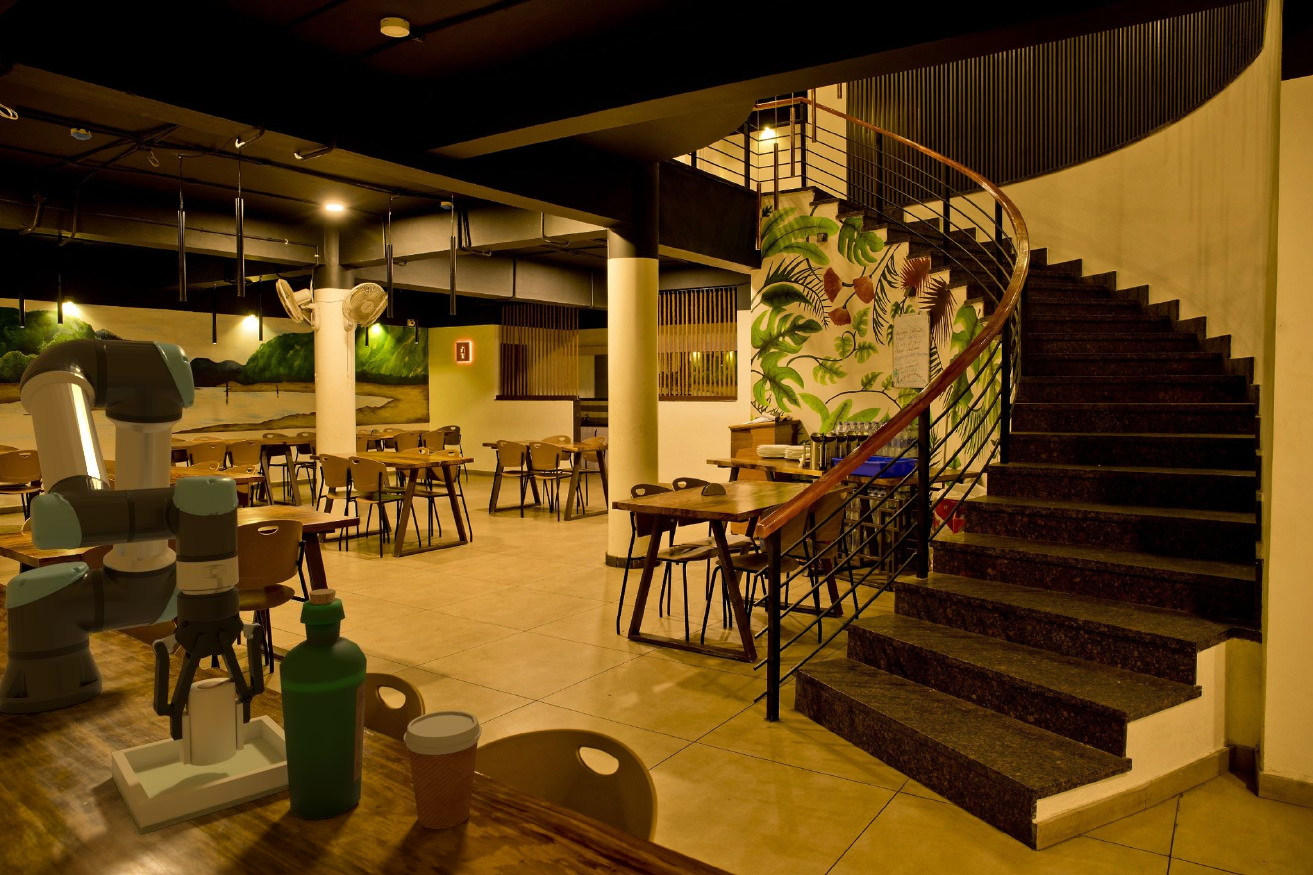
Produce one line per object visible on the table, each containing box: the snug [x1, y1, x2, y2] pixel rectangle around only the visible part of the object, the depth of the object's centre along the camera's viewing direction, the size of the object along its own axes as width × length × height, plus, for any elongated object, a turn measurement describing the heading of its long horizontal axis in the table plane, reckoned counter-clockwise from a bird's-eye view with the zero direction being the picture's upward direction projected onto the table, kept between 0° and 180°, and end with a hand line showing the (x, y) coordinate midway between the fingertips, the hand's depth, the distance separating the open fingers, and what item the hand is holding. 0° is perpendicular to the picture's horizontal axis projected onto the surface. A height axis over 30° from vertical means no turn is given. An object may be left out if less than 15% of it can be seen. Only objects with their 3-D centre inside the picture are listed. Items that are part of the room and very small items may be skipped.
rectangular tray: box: [111, 714, 289, 835], centre depth 112 cm, size 20×20×4 cm
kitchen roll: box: [185, 677, 236, 766], centre depth 111 cm, size 6×6×10 cm
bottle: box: [279, 588, 368, 820], centre depth 104 cm, size 11×11×28 cm
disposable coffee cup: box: [403, 710, 483, 830], centre depth 101 cm, size 10×10×12 cm
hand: (211, 753), depth 111 cm, fingers closed on kitchen roll, 6 cm apart
